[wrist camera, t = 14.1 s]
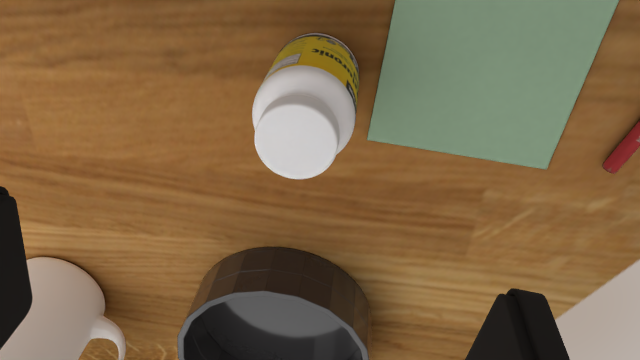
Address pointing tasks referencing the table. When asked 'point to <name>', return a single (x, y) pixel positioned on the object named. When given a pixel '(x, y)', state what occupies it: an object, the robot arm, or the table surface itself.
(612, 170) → the pencil
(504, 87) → the cloth
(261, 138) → the supplement bottle
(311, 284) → the pan
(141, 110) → the table surface
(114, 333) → the mug
